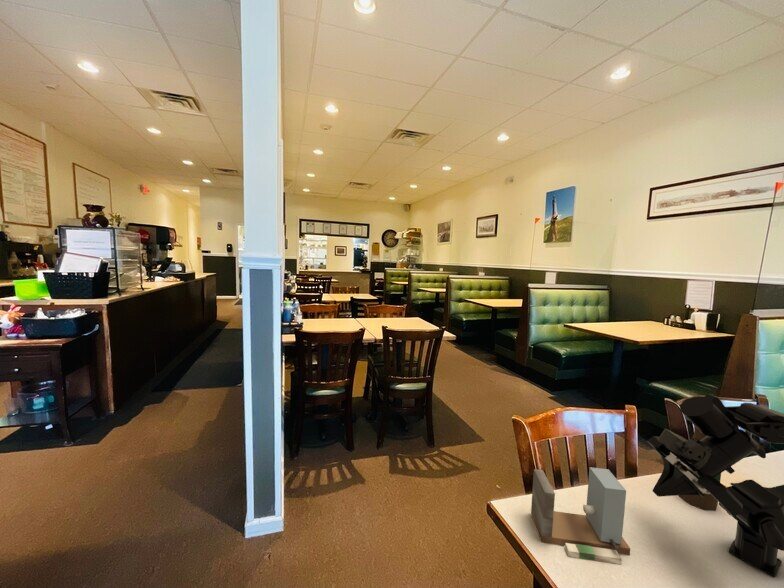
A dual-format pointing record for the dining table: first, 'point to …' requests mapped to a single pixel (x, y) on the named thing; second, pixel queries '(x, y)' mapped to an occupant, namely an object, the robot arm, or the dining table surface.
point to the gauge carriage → (605, 505)
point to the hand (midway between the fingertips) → (654, 493)
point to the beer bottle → (698, 500)
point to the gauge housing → (569, 527)
